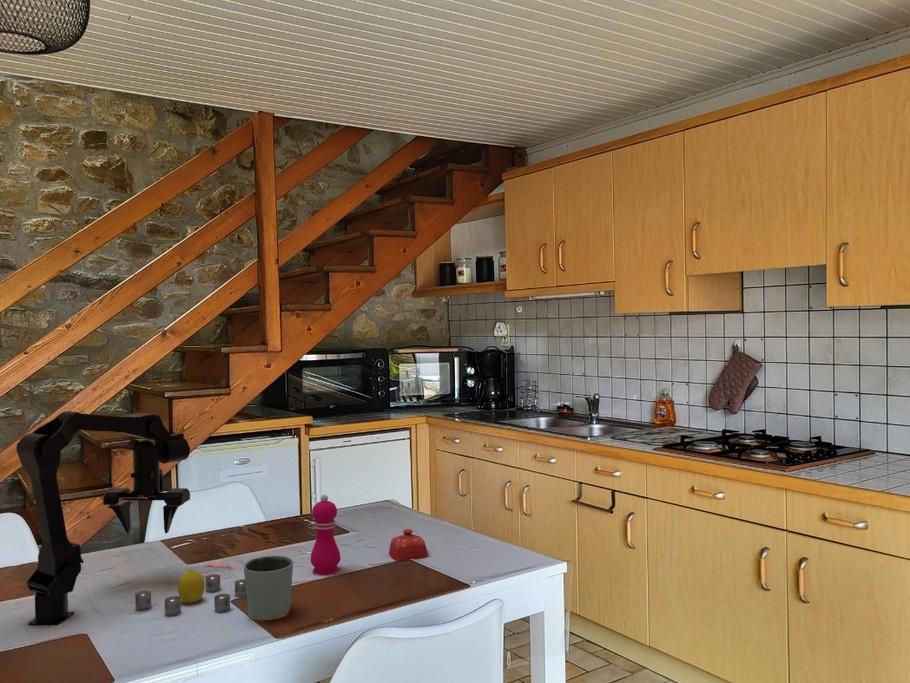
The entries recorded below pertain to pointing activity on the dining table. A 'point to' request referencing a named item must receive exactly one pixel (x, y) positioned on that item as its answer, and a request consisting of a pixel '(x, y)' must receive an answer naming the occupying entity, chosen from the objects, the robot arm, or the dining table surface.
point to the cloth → (219, 565)
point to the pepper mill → (325, 538)
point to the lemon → (191, 586)
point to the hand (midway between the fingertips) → (147, 532)
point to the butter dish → (407, 547)
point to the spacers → (175, 601)
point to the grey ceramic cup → (268, 586)
